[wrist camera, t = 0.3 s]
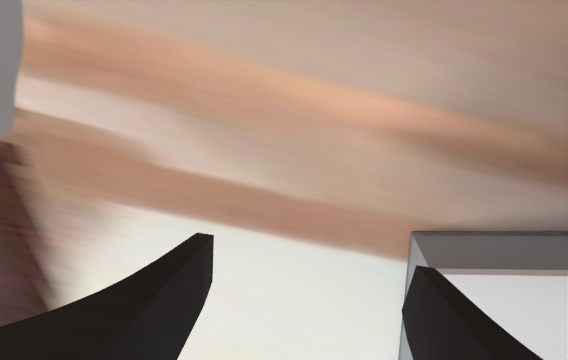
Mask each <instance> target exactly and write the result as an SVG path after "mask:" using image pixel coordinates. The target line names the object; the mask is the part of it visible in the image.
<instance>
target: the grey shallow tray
mask: <svg viewBox="0 0 568 360" xmlns="http://www.w3.org/2000/svg"><path fill="white" fill-rule="evenodd" d="M416 265H418V266H425V267H432V268H435V269H516V270H568V232H411V238H410V248H409V258H408V268H407V278H406V288H405V298H404V302H405V299H406V296H407V293H408V289H409V286H410V283H411V280H412V277H413V274H414V271H415V268H416ZM398 360H413V357H412V354H411V351H410V348H409V344H408V341H407V337H406V332H405V327H404V321H403V318H402V328H401V338H400V348H399V359H398Z"/></svg>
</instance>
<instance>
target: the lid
mask: <svg viewBox="0 0 568 360" xmlns="http://www.w3.org/2000/svg"><path fill="white" fill-rule="evenodd" d="M436 270H437V271H439V272H440V273H441V274H442V275H443V276H444V277H446V278H447V279H448V280H449V281H450V282H451V283H452V284H453V285H454V286H455V287H457V288H458V289H459V290H460V291H461V292H462V293H463V294H464V295H465V296H466V297H467V298H469V299H470V300H471V301H472V302H473V303H474V304H475V305H476V306H477V307H479V308H480V309H481V310H482V311H483V312H484V313H485V314H487V315H488V316H489V317H490V318H491V319H492V320H494V321H495V322H496V323H497V324H498V325H500V326H501V327H502V328H503V329H504V330H506V331H507V332H508V333H509V334H511V335H512V336H513V337H514V338H515V339H517V340H518V341H519V342H521V343H522V344H523V345H524V346H526V347H527V348H528V349H530V350H531V351H533V352H534V353H535V354H537V355H538V356H539V357H541V358H542V359H544V360H568V270H516V269H436Z"/></svg>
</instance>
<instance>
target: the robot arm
mask: <svg viewBox="0 0 568 360" xmlns="http://www.w3.org/2000/svg"><path fill="white" fill-rule="evenodd" d="M213 241H214V235H209V234H202V233H196V234H194V235H193V236H191V237H190V238H188V239H187V240H186V241H184V242H183V243H181V244H180V245H178V246H177V247H175V248H174V249H172V250H171V251H169V252H168V253H166V254H165V255H163V256H162V257H160V258H159V259H157V260H156V261H154V262H152V263H151V264H149V265H147V266H146V267H144V268H142V269H141V270H139V271H137V272H136V273H134V274H132V275H130V276H129V277H127V278H125V279H123V280H121V281H119V282H117V283H115V284H113V285H111V286H109V287H107V288H105V289H103V290H101V291H98V292H96V293H94V294H92V295H89V296H87V297H84V298H82V299H79V300H77V301H75V302H72V303H70V304H67V305H65V306H62V307H60V308H57V309H54V310H51V311H48V312H46V313H43V314H40V315H37V316H34V317H31V318H28V319H24V320H21V321H18V322H15V323H12V324H8V325H5V326H1V327H0V360H177V358H178V357H179V355H180V353H181V351H182V349H183V347H184V345H185V343H186V341H187V339H188V337H189V335H190V333H191V331H192V329H193V327H194V325H195V323H196V321H197V318H198V316H199V314H200V312H201V310H202V308H203V306H204V303H205V301H206V298H207V295H208V292H209V289H210V286H211V283H212V274H213ZM402 315H403V321H404V327H405V332H406V337H407V341H408V344H409V348H410V351H411V354H412V357H413V360H544V359H542V358H541V357H539V356H538V355H537V354H535V353H534V352H533V351H531V350H530V349H528V348H527V347H526V346H524V345H523V344H522V343H521V342H519V341H518V340H517V339H515V338H514V337H513V336H512V335H511V334H509V333H508V332H507V331H506V330H504V329H503V328H502V327H501V326H500V325H498V324H497V323H496V322H495V321H494V320H492V319H491V318H490V317H489V316H488V315H487V314H485V313H484V312H483V311H482V310H481V309H480V308H479V307H477V306H476V305H475V304H474V303H473V302H472V301H471V300H470V299H469V298H467V297H466V296H465V295H464V294H463V293H462V292H461V291H460V290H459V289H458V288H457V287H455V286H454V285H453V284H452V283H451V282H450V281H449V280H448V279H447V278H446V277H444V276H443V275H442V274H441V273H440V272H439V271H437V270H436V269H435V268H432V267H425V266H418V265H416V268H415V271H414V274H413V277H412V280H411V283H410V286H409V289H408V293H407V296H406V299H405V302H404V305H403V308H402Z"/></svg>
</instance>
